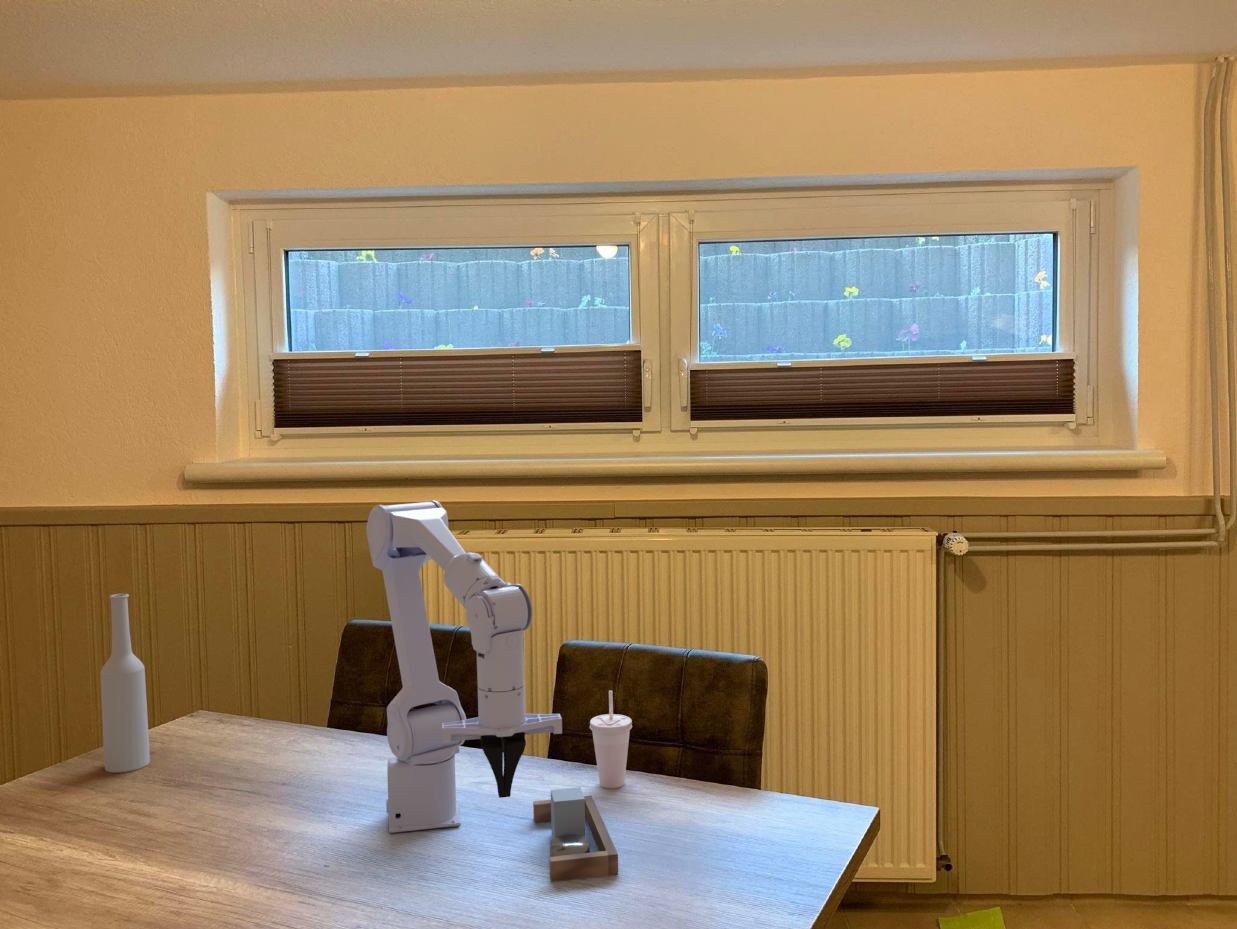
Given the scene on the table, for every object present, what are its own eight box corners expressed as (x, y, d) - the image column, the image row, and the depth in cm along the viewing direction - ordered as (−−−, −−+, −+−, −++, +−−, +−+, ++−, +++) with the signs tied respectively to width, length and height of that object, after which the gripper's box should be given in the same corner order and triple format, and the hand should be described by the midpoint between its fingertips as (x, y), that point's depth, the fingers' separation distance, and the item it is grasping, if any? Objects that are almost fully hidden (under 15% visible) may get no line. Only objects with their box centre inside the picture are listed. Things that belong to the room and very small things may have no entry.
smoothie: (635, 775, 150) (633, 686, 149) (631, 792, 144) (629, 698, 143) (593, 775, 151) (591, 685, 150) (588, 791, 144) (586, 698, 144)
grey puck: (552, 873, 119) (552, 853, 119) (547, 855, 124) (547, 836, 124) (593, 869, 120) (592, 849, 120) (586, 851, 125) (586, 832, 125)
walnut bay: (551, 881, 117) (550, 861, 117) (533, 818, 135) (533, 801, 135) (618, 874, 119) (617, 854, 119) (592, 812, 137) (591, 795, 137)
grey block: (555, 847, 126) (554, 801, 126) (551, 833, 130) (550, 789, 130) (585, 843, 127) (584, 798, 127) (581, 830, 131) (580, 787, 131)
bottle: (150, 755, 163) (142, 589, 161) (149, 768, 157) (140, 596, 155) (106, 762, 160) (97, 593, 159) (103, 775, 154) (93, 600, 153)
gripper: (441, 699, 114) (445, 813, 115) (564, 690, 117) (567, 801, 118) (440, 683, 121) (443, 790, 122) (556, 674, 124) (559, 779, 125)
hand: (504, 794), depth 120 cm, fingers closed
